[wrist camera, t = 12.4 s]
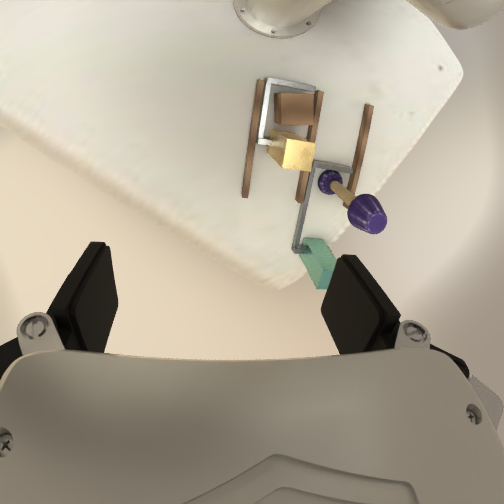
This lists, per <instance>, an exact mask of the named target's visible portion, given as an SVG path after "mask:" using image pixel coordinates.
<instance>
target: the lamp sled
mask: <svg viewBox="0 0 504 504" xmlns="http://www.w3.org/2000/svg"><path fill="white" fill-rule="evenodd" d="M315 168H322V169H328V170H334V171H340V172H345V173H351V174H353V169H352V168H351V167H349V166H344V165H339V164H334V163H328V162H322V161H316V160H313V162H312V167H311V172H309V175H308V180H307V185H306V190H305V195H304V200H303V203H301V207H300V211H299V216H298V221H297V225H296V230H295V235H294V239H293V244H292V250H293V252H294V253H295V254H300V257H301V259H302V261H303V263H304V265H305V267H306V269H307V271H308V273H309V275H310V277H311V279H312V281H313V282H314V285H315V287H316V289H328V286H329V283H330V280H331V277H332V274H333V271H334V268H335V264H336V261H337V259H336V258H335V256H334V255H333V253H332V251H331V250H330V248H329V247H328V246H327V245H326V243H325V242H324V241H323V239H313V238H304V239H303V244H302V245H299V241H300V237H301V232H302V228H303V224H304V219H305V215H306V210H307V206H308V201H309V197H310V192H311V187H312V182H313V178H314V173H315Z"/></svg>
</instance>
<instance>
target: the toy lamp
mask: <svg viewBox="0 0 504 504" xmlns="http://www.w3.org/2000/svg"><path fill="white" fill-rule="evenodd" d="M318 187H319V189H320V190H321V191H322V192H323V193H325V194H328V195H332V194H337V195H338V197H339V198H341V199H342V200H343V201H344V202H345V203H346V204H347V205H348V206H349V207H348V212H347V215H348V219H349V221H350V223H351V224H352V225H353V226H355V227H356V228H358V229H360V230H363V231H365V232H368V233H370V234H378V233H380V232H382V231H383V230H384V228H385V227H386V224H387V216H386V214H385V212H384V210H383V208H382V206H381V204H380V203H379V201H378V200H377V199H376V198H375V197H374V196H373V195H370V194H361V195H359V196H357V197H356V196H355V195H353V194H352V193H351V192H350V191H348V190H347V188H345V187H344V186H343V185H342V177H341V175H340V174H339V173H338V172H337V171H334V170H327V171H325V172H323V173H322V174H321V175H320V177H319V179H318Z"/></svg>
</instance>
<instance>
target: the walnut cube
mask: <svg viewBox="0 0 504 504" xmlns="http://www.w3.org/2000/svg"><path fill="white" fill-rule="evenodd" d="M274 111H275V123H278V124H280V125H313V118H314V103H313V94H304V93H274Z"/></svg>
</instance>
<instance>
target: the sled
mask: <svg viewBox="0 0 504 504" xmlns="http://www.w3.org/2000/svg"><path fill="white" fill-rule="evenodd" d="M271 84H273V85H279V86H285V87H290V88H295V89H300V90H305V91H310V92H315V86H311V85H306V84H302V83H297V82H292V81H287V80H281V79H275V78H269V77H267V78H266V79H265V86H264V93H263V99H262V106H261V113H260V120H259V127H258V134H257V140H256V142H257V143H258V144H263V145H268V150H267V153H268V154H269V155H270V156H271V157H272V158H273V159H274V160H275V161H276V162H277V163H278V164H279V165H280V166H281V167H282V168H287V169H295V170H302V171H309V172H311V167H312V162H313V157H314V152H315V147H316V143H314V142H312V141H310V140H308V139H306V138H303V137H301V136H299V135H297V134H295V133H290V132H284V131H277V130H270V137H269V138H263V135H264V129H265V122H266V115H267V109H268V102H269V95H270V89H271Z"/></svg>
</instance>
